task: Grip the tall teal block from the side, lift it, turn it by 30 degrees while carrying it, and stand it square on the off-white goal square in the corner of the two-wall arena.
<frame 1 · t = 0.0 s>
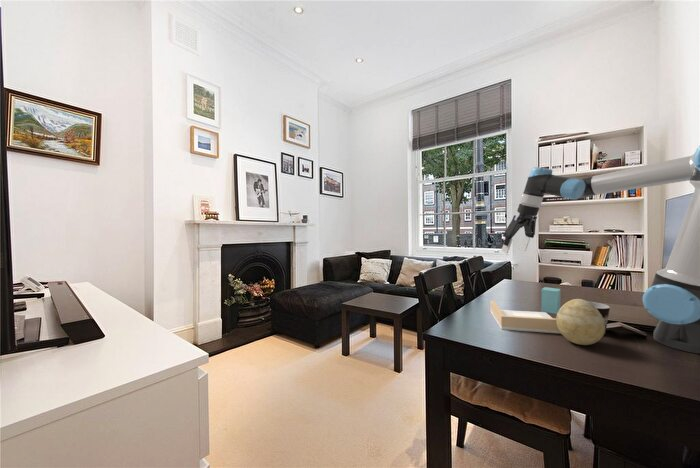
hand: (513, 251, 127), 28 cm above the table, tool tilted 20°, fingers open, 13 cm apart
teal block: (550, 311, 129), on the table
coffee mug: (589, 332, 105), on the table
arena: (525, 321, 117), on the table
fossilized egg: (579, 343, 95), on the table
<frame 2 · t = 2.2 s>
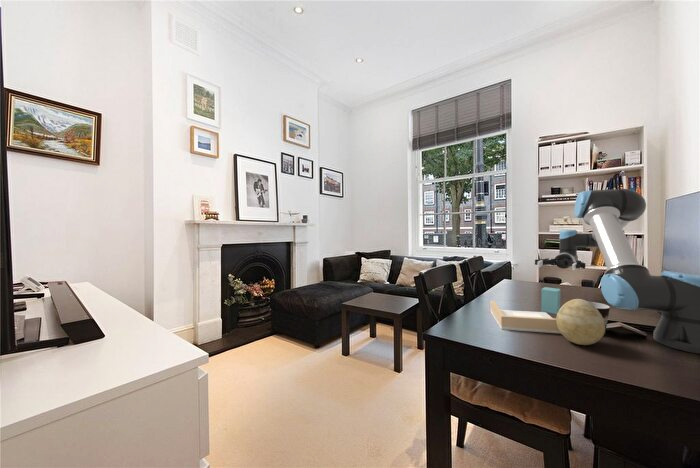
hand: (555, 266, 134), 19 cm above the table, tool horizontal, fingers open, 13 cm apart
nothing on the table moved.
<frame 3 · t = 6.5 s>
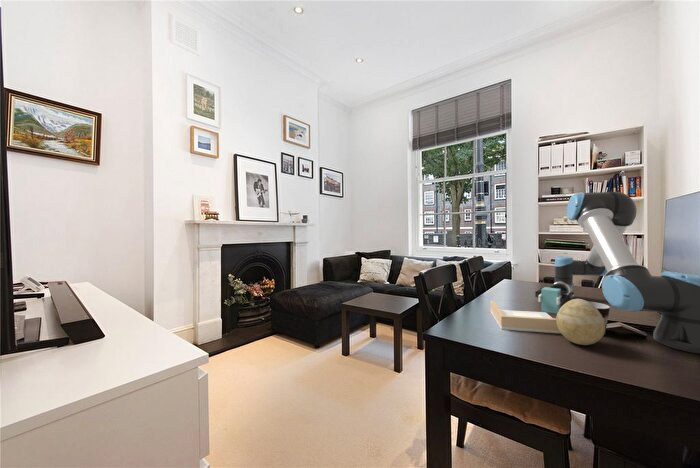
hand: (548, 300, 125), 6 cm above the table, tool horizontal, fingers closed on teal block, 6 cm apart
teal block: (550, 310, 129), on the table, touching gripper
everything else where it was.
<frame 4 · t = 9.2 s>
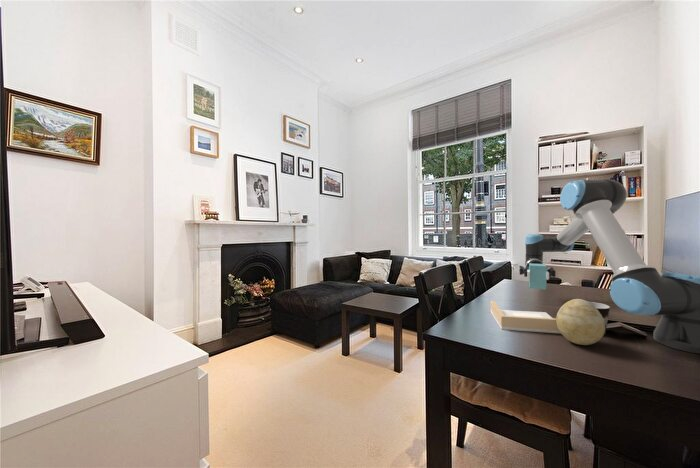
hand: (538, 275, 119), 18 cm above the table, tool horizontal, fingers closed on teal block, 6 cm apart
teal block: (537, 287, 124), point 12 cm above the table, touching gripper
everything else where it was.
when the fingers open (8 cm above the table, at t = 12.0 s): teal block drops 1 cm, resting on arena.
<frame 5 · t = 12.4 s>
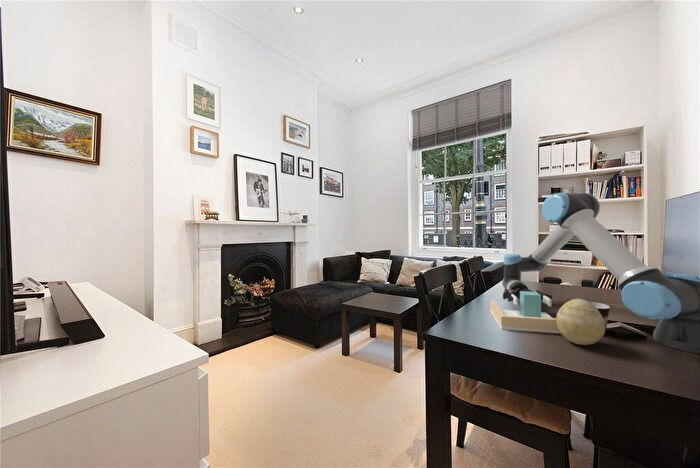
hand: (533, 302, 114), 8 cm above the table, tool horizontal, fingers open, 11 cm apart
teal block: (530, 316, 118), point 1 cm above the table, touching arena
everything else where it was.
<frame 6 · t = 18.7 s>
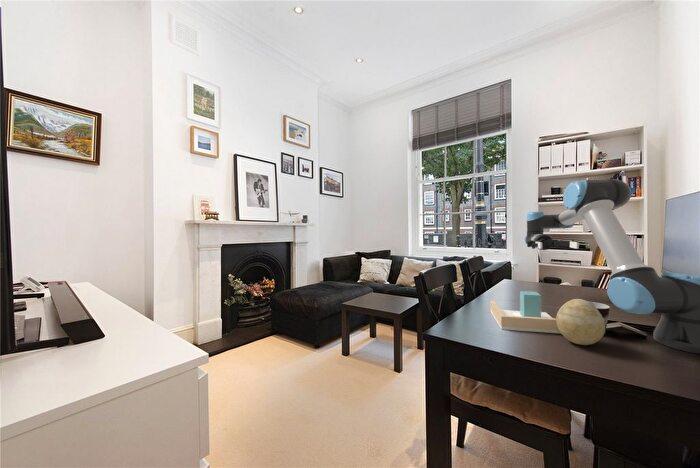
hand: (559, 245, 124), 30 cm above the table, tool horizontal, fingers open, 13 cm apart
nothing on the table moved.
at the end: teal block inside the target area (0.1 cm from its centre), point 1.2 cm above the table; teal block tilted 0°; the gripper is holding nothing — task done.
